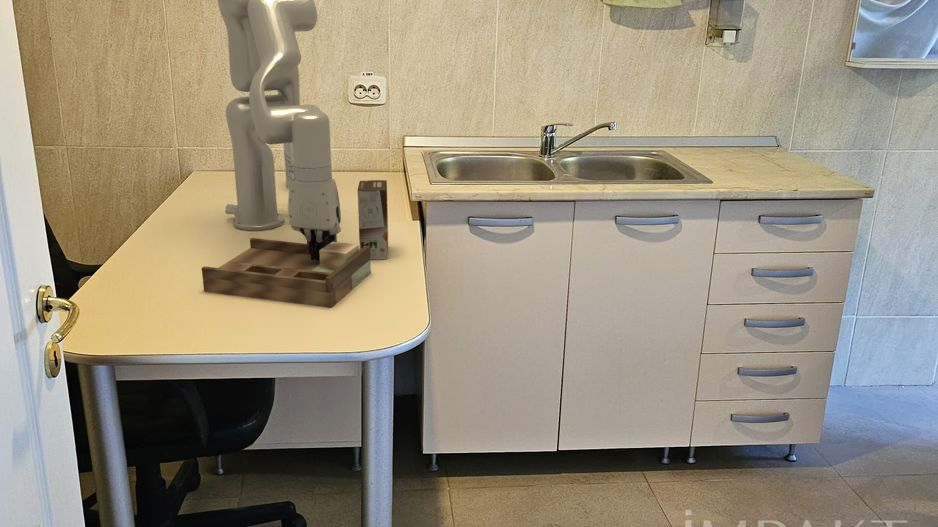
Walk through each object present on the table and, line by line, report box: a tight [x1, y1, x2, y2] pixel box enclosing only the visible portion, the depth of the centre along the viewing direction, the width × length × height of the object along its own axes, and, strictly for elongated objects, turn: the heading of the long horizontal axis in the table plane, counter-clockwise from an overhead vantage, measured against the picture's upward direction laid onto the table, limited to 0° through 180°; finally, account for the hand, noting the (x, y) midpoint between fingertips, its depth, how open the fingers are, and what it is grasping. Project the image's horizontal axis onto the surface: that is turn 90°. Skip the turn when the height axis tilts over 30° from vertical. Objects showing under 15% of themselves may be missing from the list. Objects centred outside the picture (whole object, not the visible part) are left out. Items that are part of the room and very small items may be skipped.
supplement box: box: [283, 143, 295, 189], centre depth 247 cm, size 9×9×15 cm
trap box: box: [201, 237, 372, 308], centre depth 179 cm, size 28×20×6 cm
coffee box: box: [357, 179, 389, 260], centre depth 195 cm, size 9×6×16 cm
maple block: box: [319, 241, 360, 271], centre depth 180 cm, size 6×6×4 cm
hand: (317, 258), depth 182 cm, fingers closed
